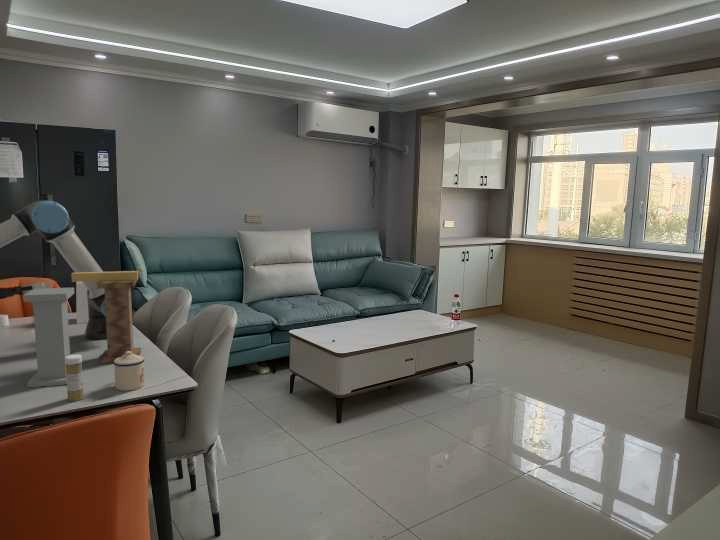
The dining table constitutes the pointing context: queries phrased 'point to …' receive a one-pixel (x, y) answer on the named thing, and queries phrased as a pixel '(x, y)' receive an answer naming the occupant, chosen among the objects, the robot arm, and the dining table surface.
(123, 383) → the teacup with lid
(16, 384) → the dining table surface
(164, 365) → the dining table surface
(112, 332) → the walnut stand
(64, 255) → the robot arm
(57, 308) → the grey stand
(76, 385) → the sprinkles bottle
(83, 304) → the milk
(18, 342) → the dining table surface
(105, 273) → the ochre bar
